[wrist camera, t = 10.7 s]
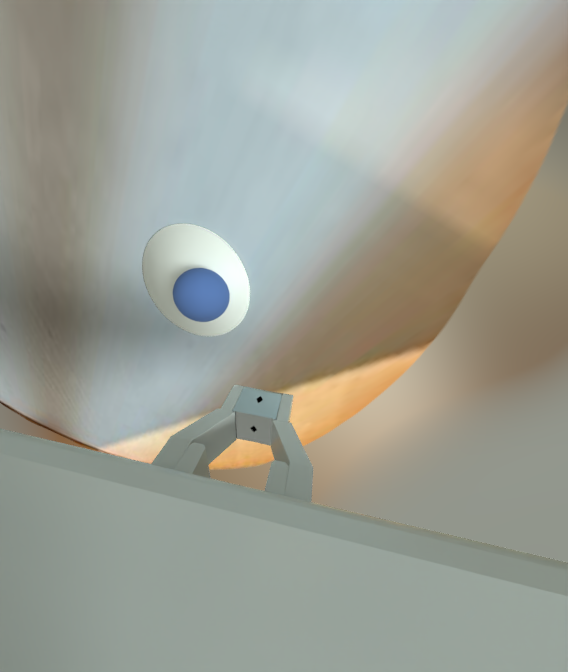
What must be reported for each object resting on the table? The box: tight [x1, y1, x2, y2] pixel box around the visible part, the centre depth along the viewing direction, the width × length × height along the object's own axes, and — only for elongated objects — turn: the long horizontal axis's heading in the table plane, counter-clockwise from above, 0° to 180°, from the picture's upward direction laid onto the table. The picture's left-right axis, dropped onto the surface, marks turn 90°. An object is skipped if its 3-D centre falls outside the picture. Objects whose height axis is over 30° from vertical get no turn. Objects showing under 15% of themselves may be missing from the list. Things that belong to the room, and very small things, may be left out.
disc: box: [142, 224, 250, 336], centre depth 25 cm, size 13×13×1 cm
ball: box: [173, 268, 230, 322], centre depth 23 cm, size 6×6×6 cm
